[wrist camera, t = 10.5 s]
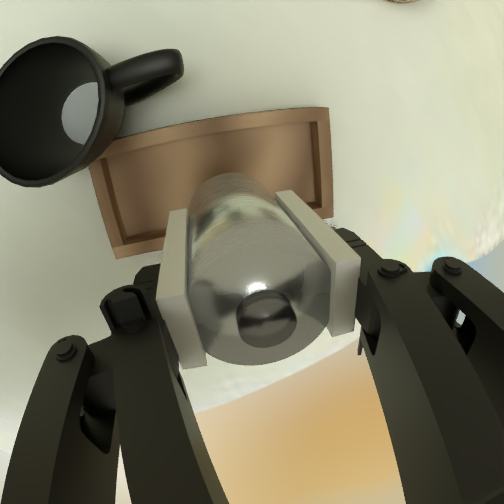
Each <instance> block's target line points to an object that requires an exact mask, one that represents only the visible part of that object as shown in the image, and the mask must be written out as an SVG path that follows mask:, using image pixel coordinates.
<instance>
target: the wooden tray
mask: <svg viewBox="0 0 504 504" xmlns="http://www.w3.org/2000/svg"><path fill="white" fill-rule="evenodd" d="M88 166H89V170H90V174H91V178H92V182H93V186H94V189H95V193H96V197H97V200H98V204H99V207H100V211H101V214H102V218H103V221H104V224H105V227H106V230H107V234H108V237H109V240H110V243H111V246H112V249H113V252H114V255H115V258H116V259H119V258H123V257H128V256H133V255H138V254H143V253H148V252H152V251H157V250H162V249H163V247H164V241H165V236H166V230H167V225H168V219H169V214H170V211H174V210H179V209H184V208H187V212H188V210H189V205H190V201H191V199H192V197H193V195H194V193H195V192H196V190H197V189H198V188H199V187H200V186H201V185H202V184H203V183H204V182H206V181H207V180H208V179H210V178H212V177H214V176H217V175H219V174H223V173H242V174H246V175H249V176H251V177H253V178H255V179H256V180H258V181H259V182H260V183H262V184H263V185H264V187H265V188H266V189H267V190H268V191H269V193H270V194H271V195H272V196H273V198H274V199H275V200H276V198H275V192H280V191H287V190H292V191H293V192H294V193H295V194H296V195H297V196H298V197H299V198H300V199H301V200H303V201H304V202H305V203H306V204H307V205H308V206H309V207H310V208H311V209H312V210H313V211H314V212H315V213H316V214H317V215H318V216H319V217H320V218H321V219H326V218H332V217H333V174H332V151H331V134H330V119H329V108H327V107H306V108H291V109H279V110H269V111H259V112H251V113H243V114H235V115H228V116H222V117H215V118H209V119H203V120H197V121H192V122H187V123H181V124H176V125H172V126H167V127H162V128H158V129H153V130H149V131H145V132H141V133H137V134H133V135H129V136H125V137H121V138H117V139H114V140H113V142H112V143H111V144H110V145H109V146H108V148H107V149H106V150H105V151H104V152H103V153H102V155H101V156H99V157H98V158H97V159H96V160H94V161H93V162H92V163H91V164H89V165H88Z"/></svg>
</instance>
